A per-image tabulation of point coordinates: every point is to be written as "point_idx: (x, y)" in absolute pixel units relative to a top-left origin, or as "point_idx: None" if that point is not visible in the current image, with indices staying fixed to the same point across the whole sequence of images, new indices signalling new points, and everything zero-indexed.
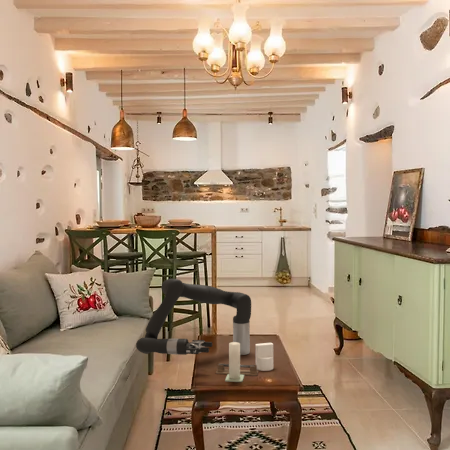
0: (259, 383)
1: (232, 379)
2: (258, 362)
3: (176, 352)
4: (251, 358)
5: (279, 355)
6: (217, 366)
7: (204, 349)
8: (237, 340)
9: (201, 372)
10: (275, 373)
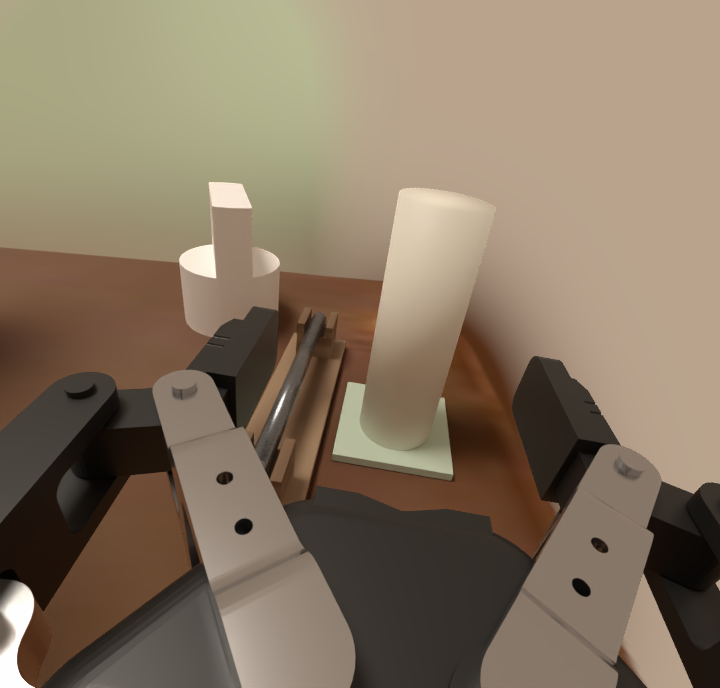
0: None
1: (434, 436)
2: (259, 299)
3: None
4: (45, 332)
5: (81, 261)
6: (280, 489)
7: (597, 411)
8: None
9: None
10: (315, 302)
